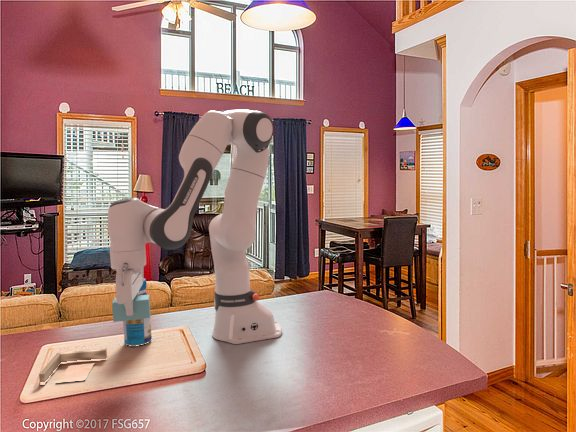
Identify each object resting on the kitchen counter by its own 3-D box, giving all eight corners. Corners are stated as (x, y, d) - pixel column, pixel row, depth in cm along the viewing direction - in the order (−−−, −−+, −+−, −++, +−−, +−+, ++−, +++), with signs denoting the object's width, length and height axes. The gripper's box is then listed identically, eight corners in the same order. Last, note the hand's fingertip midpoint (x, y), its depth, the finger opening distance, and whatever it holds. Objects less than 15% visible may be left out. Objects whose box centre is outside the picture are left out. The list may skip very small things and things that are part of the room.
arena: (107, 358, 126) (106, 348, 126) (95, 380, 113) (94, 368, 112) (57, 363, 124) (57, 353, 123) (39, 385, 110) (39, 374, 110)
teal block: (150, 312, 121) (149, 294, 121) (149, 317, 116) (148, 299, 116) (115, 316, 119) (114, 297, 118) (113, 322, 114) (111, 303, 114)
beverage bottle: (119, 343, 138) (115, 280, 136) (143, 335, 144) (140, 275, 142) (132, 350, 132) (128, 284, 130) (157, 341, 138) (154, 279, 136)
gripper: (134, 267, 106) (138, 322, 108) (146, 252, 127) (149, 299, 128) (107, 269, 105) (111, 325, 107) (123, 254, 125) (126, 301, 127)
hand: (132, 310), depth 117 cm, fingers closed on teal block, 5 cm apart
